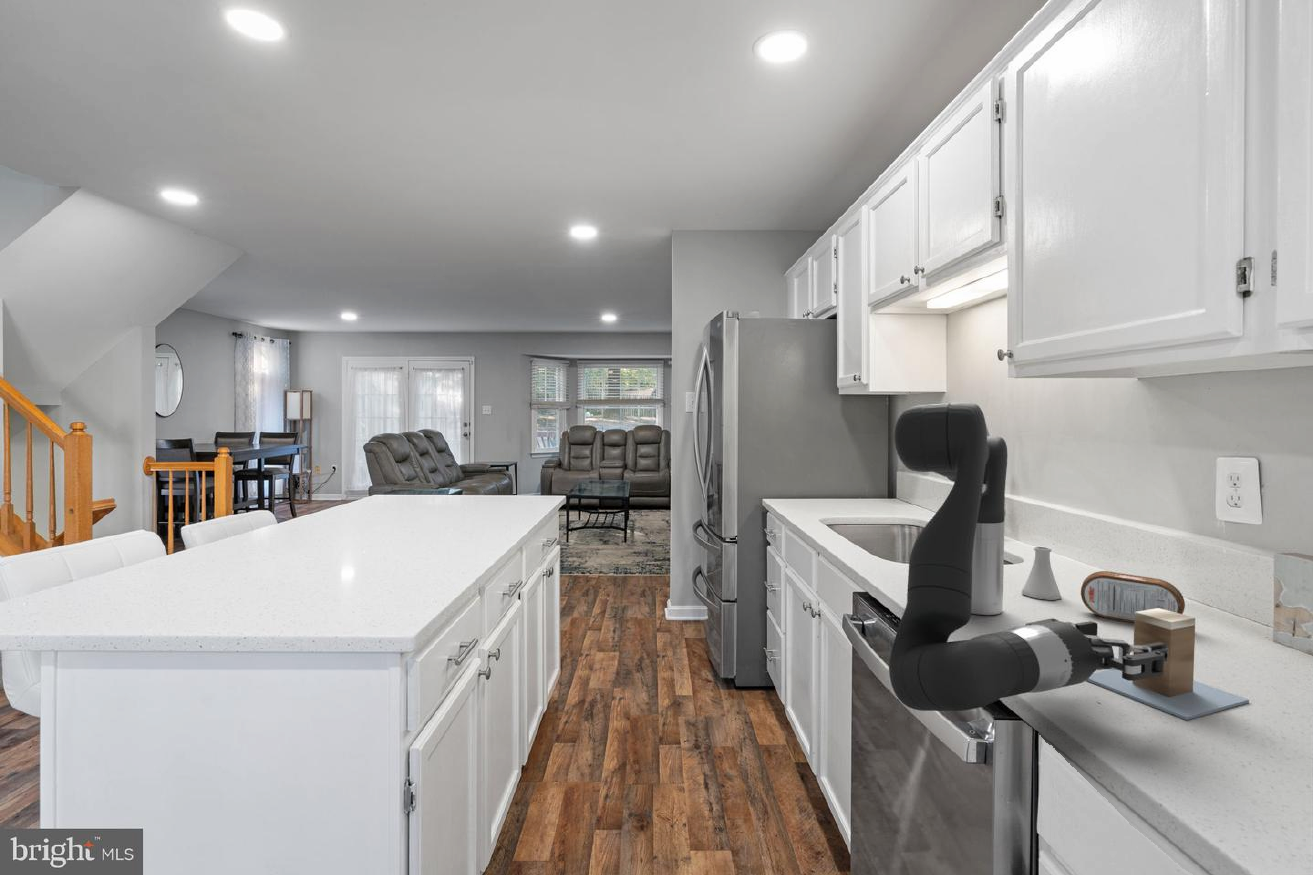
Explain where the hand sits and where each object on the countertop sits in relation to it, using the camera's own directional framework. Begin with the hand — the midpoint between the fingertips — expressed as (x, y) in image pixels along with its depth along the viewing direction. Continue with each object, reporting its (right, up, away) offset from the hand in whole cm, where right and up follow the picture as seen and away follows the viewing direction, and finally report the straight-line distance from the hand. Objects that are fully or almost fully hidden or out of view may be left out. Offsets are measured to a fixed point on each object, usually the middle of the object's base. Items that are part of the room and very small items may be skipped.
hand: (1127, 639), depth 83 cm
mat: (+7, -8, +3) cm, 11 cm away
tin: (+24, -7, +32) cm, 40 cm away
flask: (+18, -6, +47) cm, 51 cm away
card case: (+7, -8, +3) cm, 11 cm away
